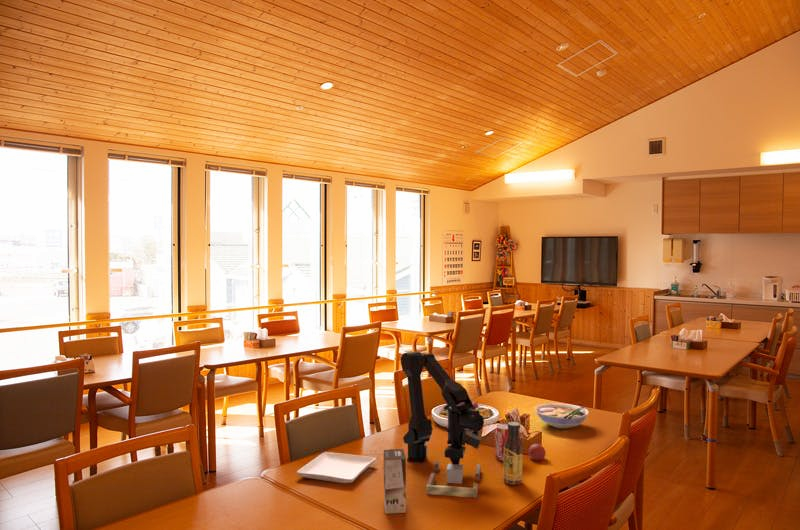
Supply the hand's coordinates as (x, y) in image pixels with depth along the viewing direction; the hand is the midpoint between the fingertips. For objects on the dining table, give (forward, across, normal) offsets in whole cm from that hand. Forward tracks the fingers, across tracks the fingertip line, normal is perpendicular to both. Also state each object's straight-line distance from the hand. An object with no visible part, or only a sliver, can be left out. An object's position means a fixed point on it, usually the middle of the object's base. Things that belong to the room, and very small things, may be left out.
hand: (456, 469), depth 197 cm
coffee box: (+2, -27, +16) cm, 32 cm away
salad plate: (+3, -4, +41) cm, 41 cm away
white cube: (+2, -4, 0) cm, 5 cm away
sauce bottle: (+2, -2, -19) cm, 19 cm away
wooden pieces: (+2, -5, 0) cm, 5 cm away
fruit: (+2, +20, -27) cm, 34 cm away
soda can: (+2, +20, -16) cm, 25 cm away
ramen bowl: (+2, +63, -40) cm, 75 cm away
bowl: (+3, +64, +2) cm, 64 cm away
